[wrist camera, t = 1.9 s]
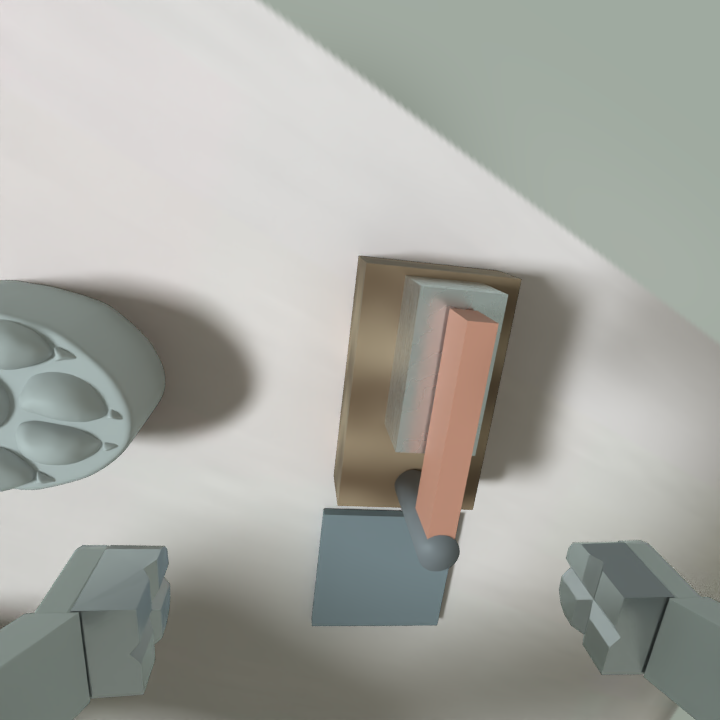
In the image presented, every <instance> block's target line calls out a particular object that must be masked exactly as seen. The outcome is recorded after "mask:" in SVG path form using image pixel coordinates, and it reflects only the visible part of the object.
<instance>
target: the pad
mask: <svg viewBox="0 0 720 720" xmlns="http://www.w3.org/2000/svg"><path fill="white" fill-rule="evenodd" d="M448 569H449V568H448ZM448 569H446V570H443V571H436V572H435V571H429V570H427V569H425V568H424V567H422V565H421V564H420V562H419V559H418V557H417V554H416V551H415V548H414V545H413V542H412V539H411V536H410V533H409V530H408V527H407V524H406V521H405V518H404V515H403V512H402V511H386V510H351V509H324V511H323V520H322V529H321V538H320V547H319V556H318V565H317V574H316V584H315V593H314V602H313V611H312V626H412V625H437V623H438V618H439V613H440V608H441V603H442V598H443V593H444V588H445V583H446V579H447V574H448Z"/></svg>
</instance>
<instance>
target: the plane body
mask: <svg viewBox="0 0 720 720" xmlns="http://www.w3.org/2000/svg"><path fill="white" fill-rule="evenodd" d="M406 275H408V276H418V277H427V278H437V279H447V280H457V281H466V282H476V283H483V284H486V285H488V286H490V287H492V288H495V289H497V290H499V291H501V292H504V293H506V294H508V299H507V304H506V309H505V313H504V318H503V323H502V328H501V333H500V338H499V343H498V347H497V352H496V357H495V362H494V367H493V372H492V377H491V381H490V386H489V391H488V396H487V401H486V406H485V411H484V415H483V420H482V425H481V430H480V435H479V440H478V445H477V449H476V454H475V456H472V457H471V462H470V467H469V472H468V477H467V482H466V487H465V492H464V497H463V502H462V507H461V509H463V510H473V506H474V502H475V497H476V492H477V487H478V483H479V478H480V473H481V469H482V464H483V459H484V454H485V450H486V445H487V440H488V436H489V431H490V426H491V421H492V417H493V412H494V407H495V403H496V398H497V393H498V388H499V384H500V379H501V374H502V369H503V365H504V360H505V355H506V351H507V346H508V341H509V336H510V332H511V327H512V322H513V318H514V313H515V308H516V303H517V299H518V294H519V289H520V285H521V280H522V279H520V278H517V277H514V276H511V275H508V274H506V273H503V272H500V271H496V270H487V269H478V268H468V267H459V266H450V265H440V264H431V263H422V262H412V261H403V260H394V259H384V258H375V257H366V256H359V258H358V267H357V276H356V284H355V293H354V302H353V311H352V319H351V328H350V337H349V346H348V355H347V363H346V372H345V381H344V390H343V399H342V407H341V416H340V425H339V434H338V443H337V451H336V460H335V469H334V482H335V489H336V497H337V504H338V506H365V507H398V508H401V506H400V503H399V500H398V497H397V494H396V491H395V481H396V479H397V478H398V476H399V475H401V474H402V473H403V472H405V471H408V470H418V471H420V472H422V466H423V460H424V455H425V453H404V452H395V449H394V447H393V444H392V442H391V439H390V437H389V434H388V431H387V429H386V426H385V424H384V423H385V416H386V409H387V402H388V395H389V388H390V381H391V374H392V367H393V360H394V353H395V346H396V339H397V332H398V325H399V318H400V311H401V304H402V297H403V290H404V283H405V276H406Z"/></svg>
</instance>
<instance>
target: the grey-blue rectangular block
mask: <svg viewBox="0 0 720 720" xmlns="http://www.w3.org/2000/svg"><path fill="white" fill-rule="evenodd" d="M507 299H508V294H506V293H504V292H501V291H499V290H497V289H495V288H492V287H490V286H488V285H486V284H483V283H476V282H466V281H457V280H447V279H437V278H427V277H418V276H408V275H406V276H405V283H404V290H403V297H402V304H401V311H400V318H399V325H398V332H397V339H396V346H395V353H394V360H393V367H392V374H391V381H390V388H389V395H388V402H387V409H386V416H385V423H384V424H385V426H386V429H387V431H388V434H389V437H390V439H391V442H392V444H393V447H394V449H395V452H404V453H425V449H426V443H427V437H428V431H429V426H430V420H431V414H432V408H433V402H434V397H435V391H436V385H437V379H438V373H439V368H440V362H441V356H442V350H443V344H444V339H445V333H446V327H447V321H448V315H449V310H450V308H454V309H464V310H475V311H479V312H481V313H482V314H484V315H485V316H487V317H489V318H490V319H492V320H494V321H495V322H497V323H498V324H499V325H498V330H497V335H496V340H495V345H494V349H493V354H492V359H491V364H490V369H489V374H488V379H487V384H486V389H485V394H484V399H483V403H482V408H481V413H480V418H479V423H478V428H477V433H476V438H475V443H474V448H473V453H472V456H475V454H476V449H477V445H478V440H479V435H480V430H481V425H482V420H483V415H484V411H485V406H486V401H487V396H488V391H489V386H490V381H491V377H492V372H493V367H494V362H495V357H496V352H497V347H498V343H499V338H500V333H501V328H502V323H503V318H504V313H505V309H506V304H507Z"/></svg>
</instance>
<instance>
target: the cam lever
mask: <svg viewBox="0 0 720 720" xmlns="http://www.w3.org/2000/svg"><path fill="white" fill-rule="evenodd" d="M498 325H499V324H498V323H497V322H495V321H494V320H492V319H490V318H489V317H487V316H485V315H484V314H482V313H481V312H479V311H475V310H464V309H454V308H450V310H449V315H448V321H447V327H446V333H445V339H444V344H443V350H442V356H441V362H440V368H439V373H438V379H437V385H436V391H435V397H434V402H433V408H432V414H431V420H430V426H429V431H428V437H427V443H426V449H425V455H424V460H423V466H422V472H420V471H418V470H408V471H405V472H403V473H402V474H401V475H399V476H398V478H397V479H396V481H395V491H396V494H397V497H398V500H399V503H400V506H401V509H402V512H403V515H404V518H405V521H406V524H407V527H408V530H409V533H410V536H411V539H412V542H413V545H414V548H415V551H416V554H417V557H418V559H419V562H420V564H421V565H422V567H424V568H425V569H427V570H429V571H435V572H436V571H443V570H446V569H448V568H449V567H451V566H452V565H453V564H454V563H455V562H456V561H457V559H458V557H459V553H460V550H459V546H458V544H457V541H456V539H455V536H456V531H457V526H458V521H459V516H460V511H461V507H462V502H463V497H464V492H465V487H466V482H467V477H468V472H469V467H470V462H471V457H472V453H473V448H474V443H475V438H476V433H477V428H478V423H479V418H480V413H481V408H482V403H483V399H484V394H485V389H486V384H487V379H488V374H489V369H490V364H491V359H492V354H493V349H494V345H495V340H496V335H497V330H498Z"/></svg>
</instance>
